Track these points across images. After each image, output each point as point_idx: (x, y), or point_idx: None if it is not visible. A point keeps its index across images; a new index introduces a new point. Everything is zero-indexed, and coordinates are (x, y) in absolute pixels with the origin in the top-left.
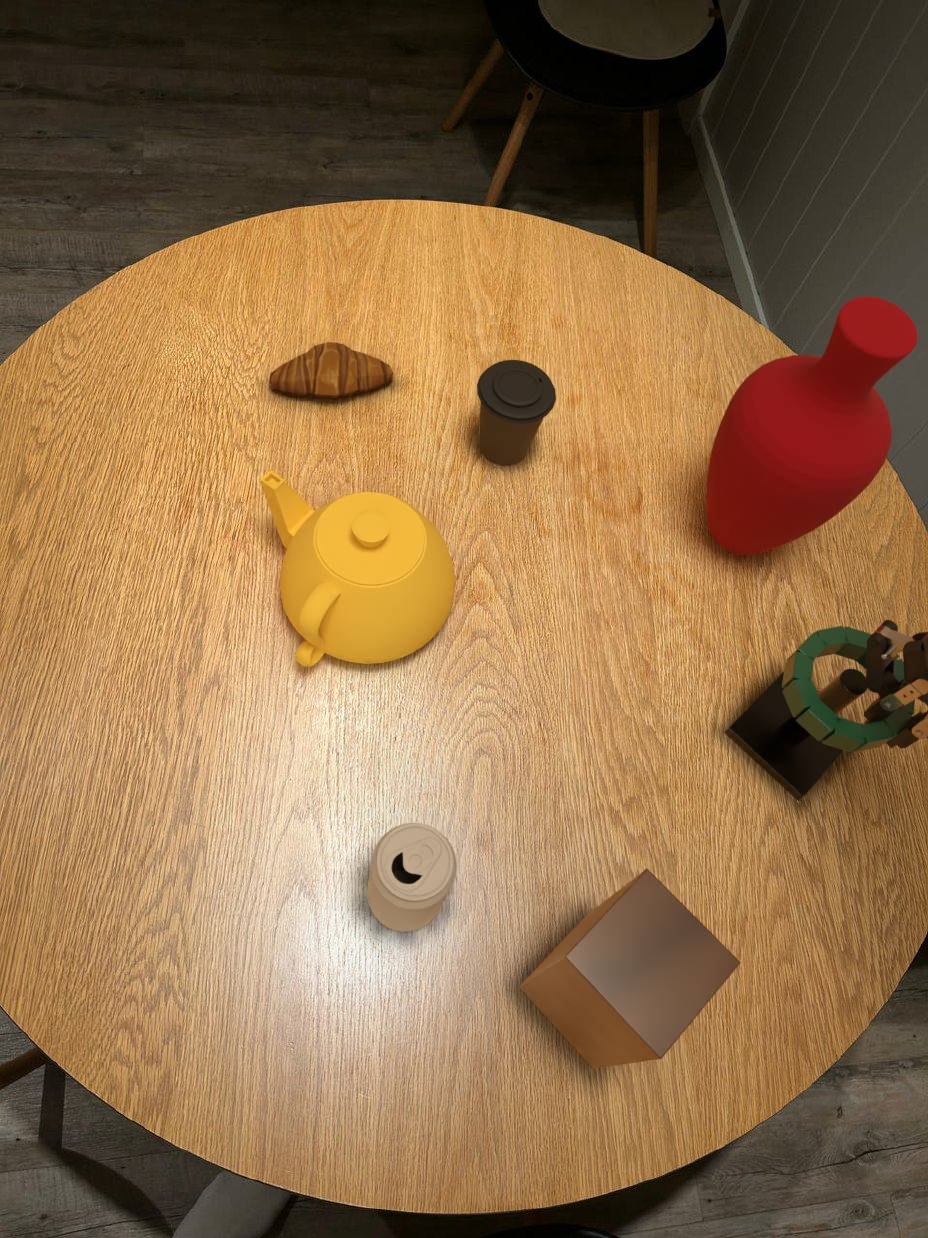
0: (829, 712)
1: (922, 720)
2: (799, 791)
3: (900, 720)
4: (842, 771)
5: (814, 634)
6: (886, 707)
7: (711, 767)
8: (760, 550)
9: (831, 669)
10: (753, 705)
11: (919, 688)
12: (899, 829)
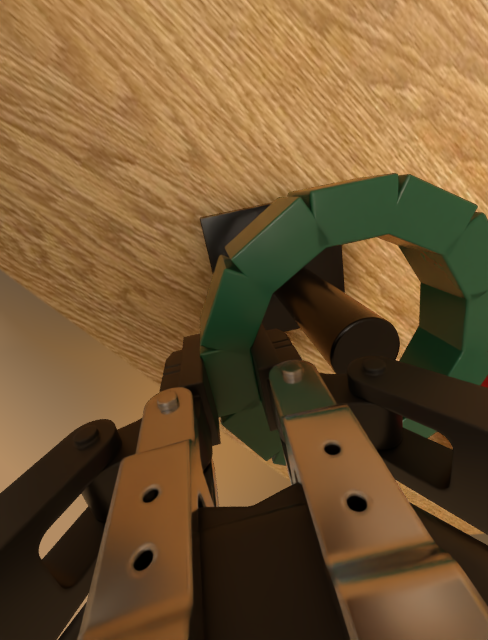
0: (353, 229)
1: (192, 442)
2: (209, 218)
3: (226, 386)
4: (201, 301)
5: None
6: (288, 367)
7: (304, 132)
8: (485, 386)
9: None
10: (338, 247)
11: (417, 618)
12: (103, 316)
